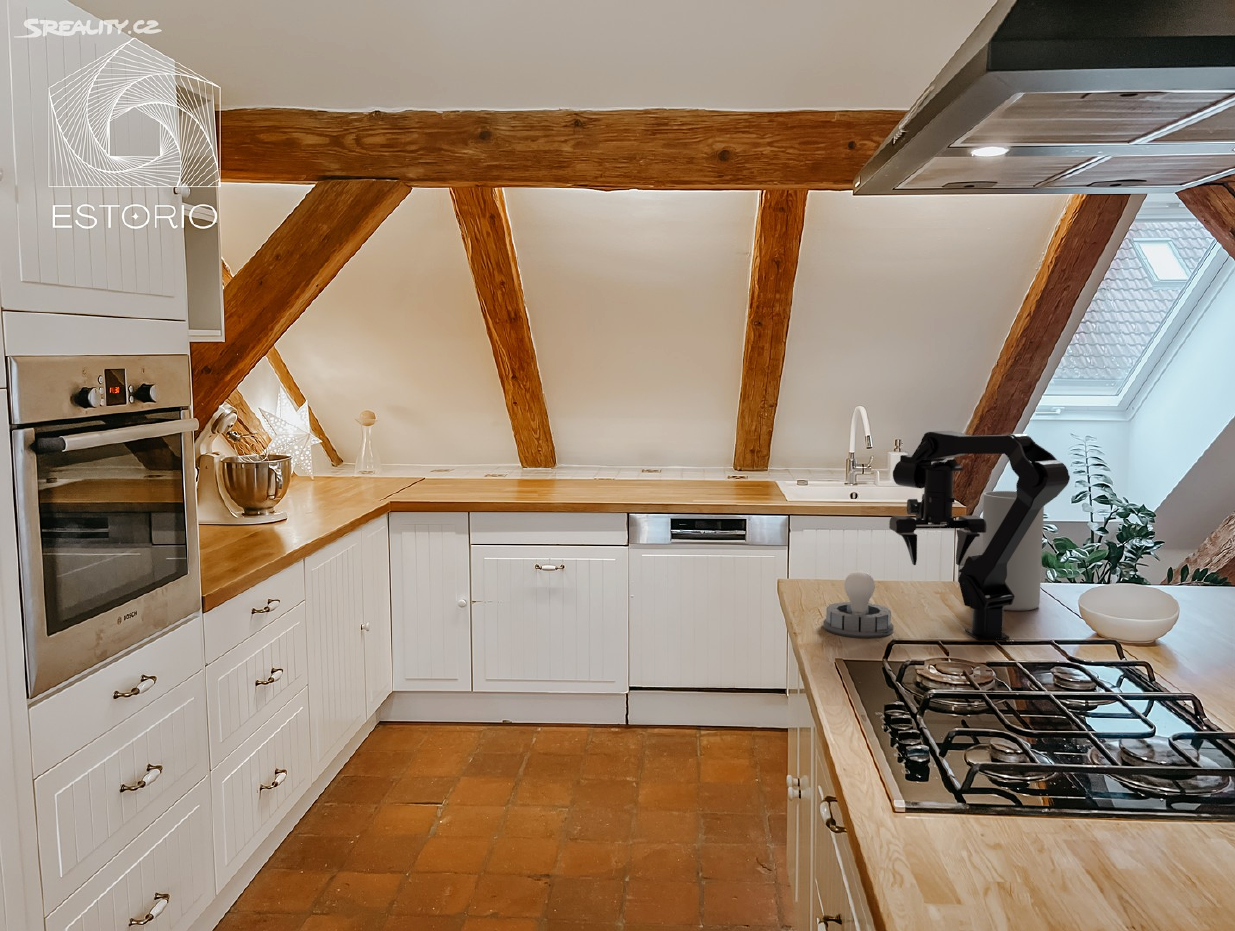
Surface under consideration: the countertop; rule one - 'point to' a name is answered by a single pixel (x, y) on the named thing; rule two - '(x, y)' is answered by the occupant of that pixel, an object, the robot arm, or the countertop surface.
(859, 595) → the lightbulb
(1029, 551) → the cylinder vase
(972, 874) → the countertop surface
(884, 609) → the socket
